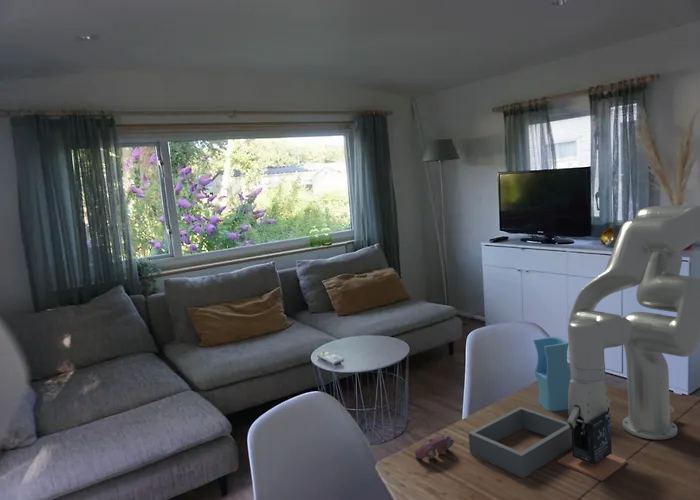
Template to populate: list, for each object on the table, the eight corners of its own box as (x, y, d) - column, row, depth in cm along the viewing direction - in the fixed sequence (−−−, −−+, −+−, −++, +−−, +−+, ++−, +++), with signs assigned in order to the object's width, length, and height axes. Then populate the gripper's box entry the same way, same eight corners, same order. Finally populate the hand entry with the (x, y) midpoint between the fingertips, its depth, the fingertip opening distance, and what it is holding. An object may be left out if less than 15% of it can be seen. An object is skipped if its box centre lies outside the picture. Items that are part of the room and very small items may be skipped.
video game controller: (422, 468, 131) (427, 450, 128) (412, 454, 134) (417, 436, 131) (452, 456, 136) (458, 438, 132) (442, 442, 139) (447, 425, 135)
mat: (583, 446, 131) (583, 444, 131) (627, 462, 122) (626, 460, 121) (558, 462, 124) (558, 460, 124) (602, 481, 115) (601, 478, 115)
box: (594, 466, 118) (591, 423, 117) (572, 457, 123) (569, 415, 122) (613, 453, 123) (610, 412, 121) (590, 445, 127) (588, 405, 126)
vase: (536, 401, 159) (532, 339, 157) (560, 397, 160) (556, 336, 157) (549, 412, 151) (545, 346, 149) (574, 408, 152) (570, 343, 150)
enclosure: (521, 424, 145) (520, 406, 145) (575, 444, 132) (574, 424, 131) (470, 452, 133) (468, 432, 133) (523, 478, 120) (521, 455, 119)
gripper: (592, 358, 128) (596, 424, 130) (551, 378, 119) (556, 449, 121) (622, 365, 122) (626, 434, 124) (581, 387, 113) (586, 461, 115)
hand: (591, 441), depth 122 cm, fingers closed on box, 8 cm apart
